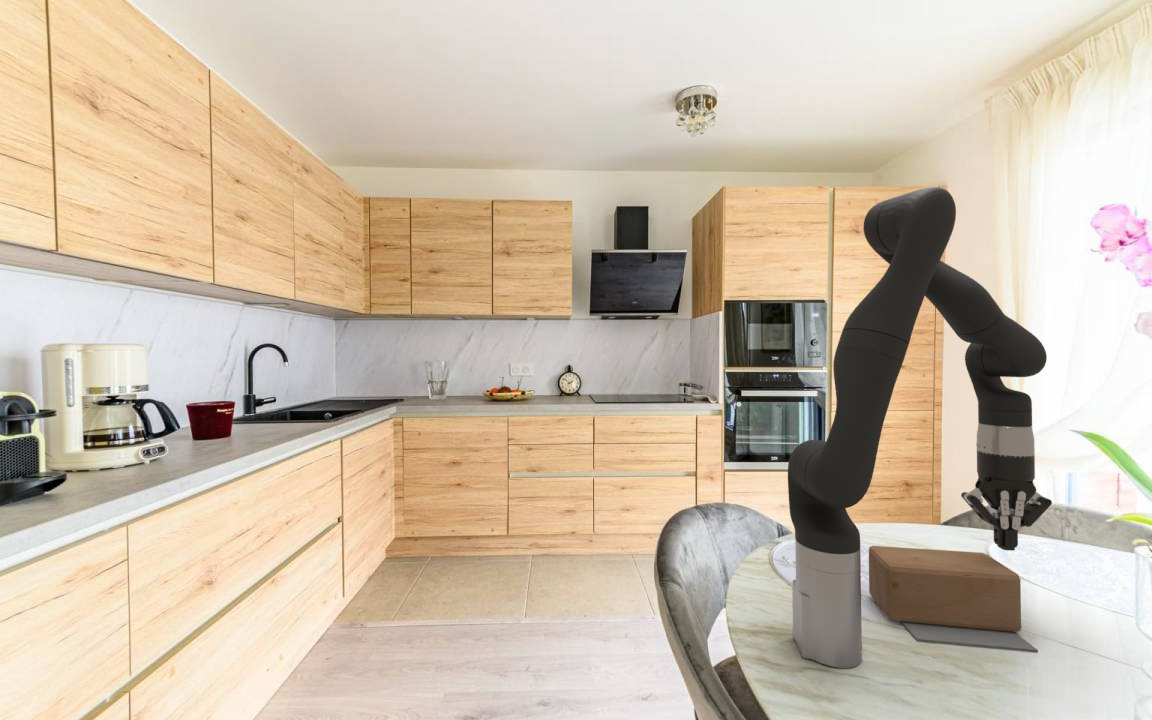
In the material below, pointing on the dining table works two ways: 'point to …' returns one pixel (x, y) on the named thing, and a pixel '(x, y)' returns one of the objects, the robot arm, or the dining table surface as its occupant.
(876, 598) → the wooden block
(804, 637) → the robot arm
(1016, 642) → the mat
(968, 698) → the dining table surface
